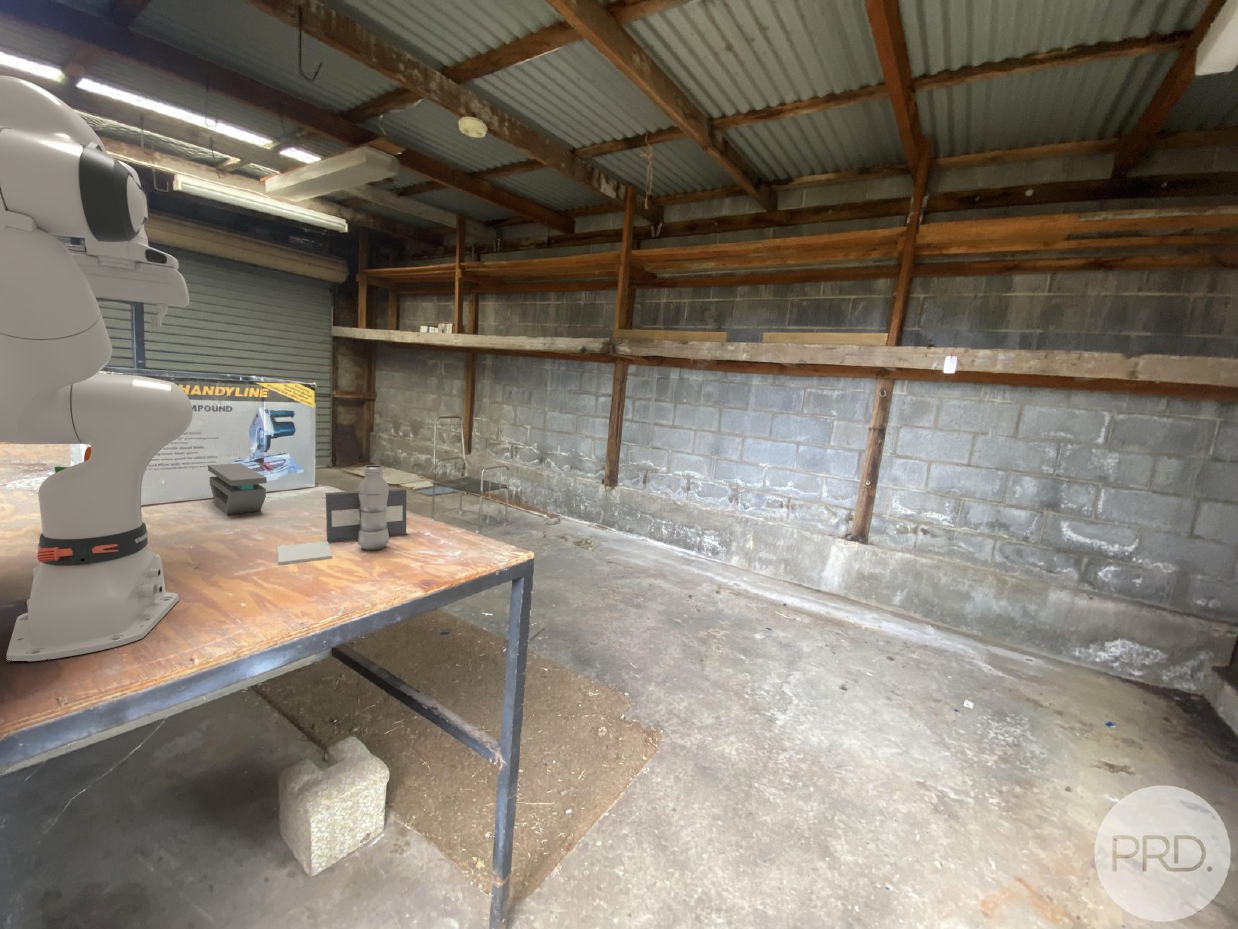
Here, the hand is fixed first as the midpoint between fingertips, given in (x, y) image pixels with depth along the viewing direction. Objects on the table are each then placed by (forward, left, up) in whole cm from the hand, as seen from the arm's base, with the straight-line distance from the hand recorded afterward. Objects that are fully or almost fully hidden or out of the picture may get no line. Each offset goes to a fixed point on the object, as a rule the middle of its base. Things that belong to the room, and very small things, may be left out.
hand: (125, 323), depth 100 cm
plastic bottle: (-15, -43, -48) cm, 66 cm away
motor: (+24, +12, -48) cm, 55 cm away
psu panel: (-6, -43, -48) cm, 64 cm away
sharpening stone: (+34, -15, -48) cm, 61 cm away
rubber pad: (-13, -29, -48) cm, 57 cm away
